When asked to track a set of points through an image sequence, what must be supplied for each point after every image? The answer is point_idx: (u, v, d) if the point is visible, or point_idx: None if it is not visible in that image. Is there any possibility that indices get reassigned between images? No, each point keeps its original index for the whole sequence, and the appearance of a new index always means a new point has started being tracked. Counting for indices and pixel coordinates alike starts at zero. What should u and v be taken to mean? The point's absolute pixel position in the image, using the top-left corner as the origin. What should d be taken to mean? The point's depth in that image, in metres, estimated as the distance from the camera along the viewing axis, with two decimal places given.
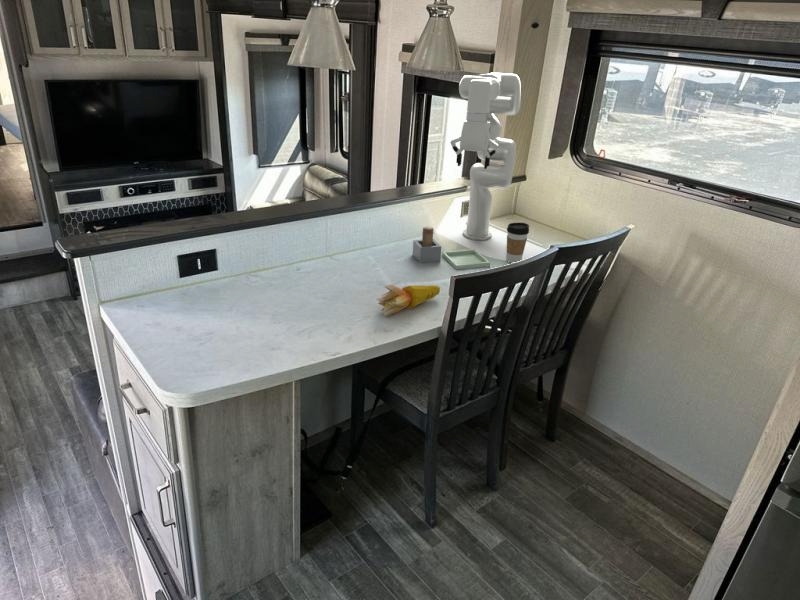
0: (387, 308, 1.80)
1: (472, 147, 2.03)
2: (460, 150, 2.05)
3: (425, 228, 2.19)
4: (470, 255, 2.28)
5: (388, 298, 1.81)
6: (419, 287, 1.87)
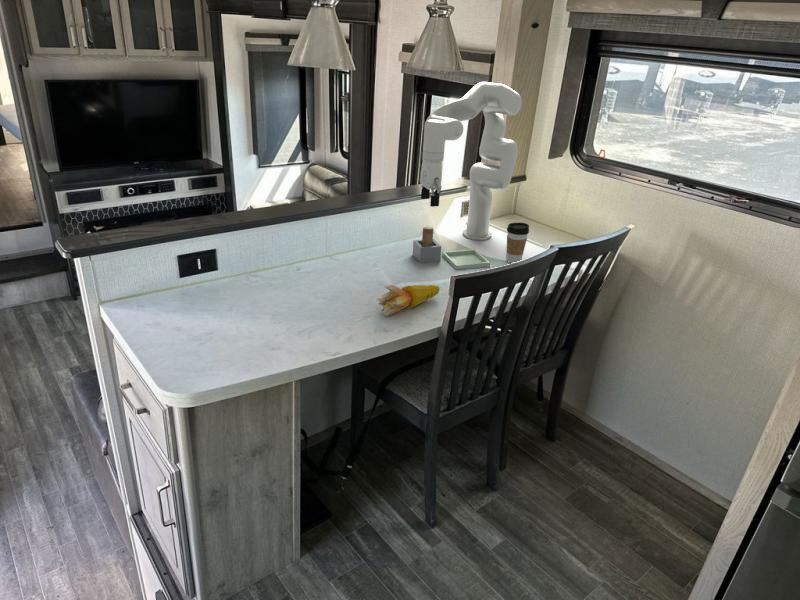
0: (387, 308, 1.80)
1: None
2: None
3: (425, 228, 2.19)
4: (470, 255, 2.28)
5: (388, 298, 1.81)
6: (419, 287, 1.87)
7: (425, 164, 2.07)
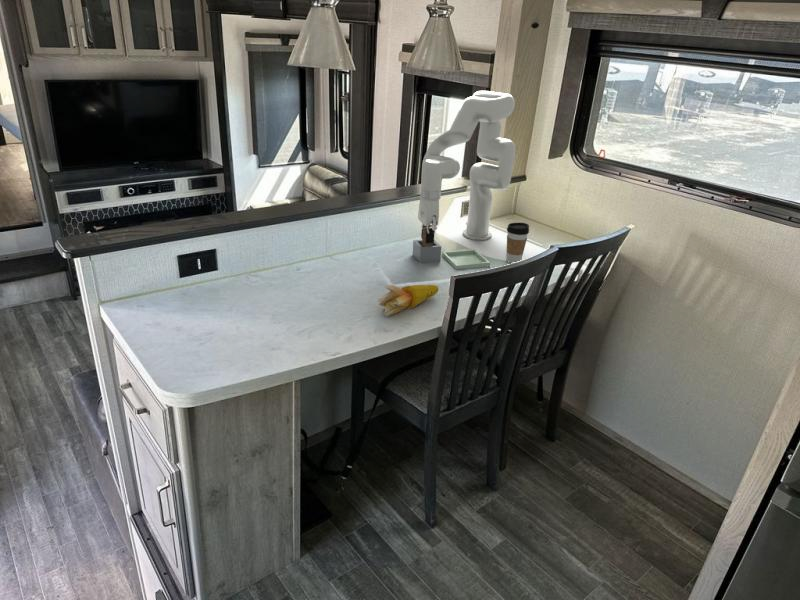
0: (388, 308, 1.80)
1: None
2: None
3: (425, 228, 2.19)
4: (470, 255, 2.28)
5: (389, 298, 1.81)
6: (418, 287, 1.88)
7: (422, 202, 2.13)
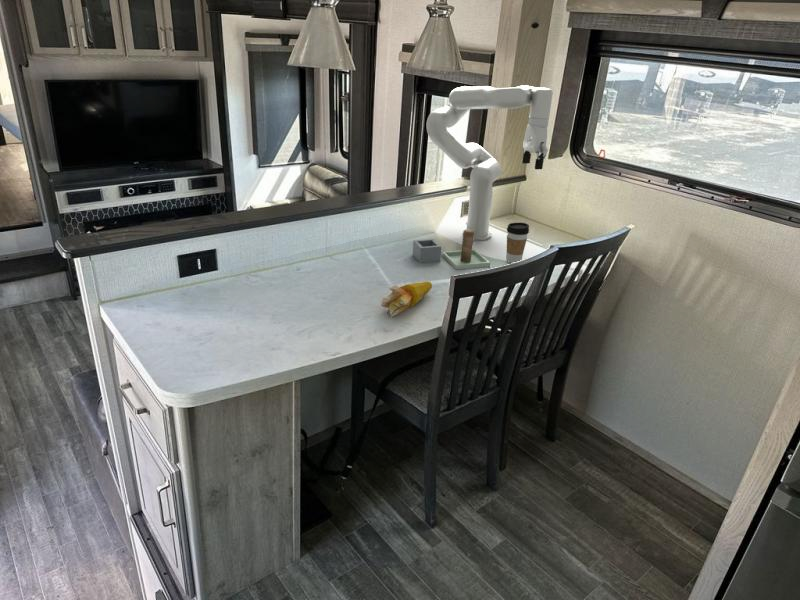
0: (393, 309, 1.80)
1: None
2: None
3: (466, 231, 2.18)
4: None
5: (392, 299, 1.81)
6: (416, 284, 1.89)
7: (530, 130, 2.23)
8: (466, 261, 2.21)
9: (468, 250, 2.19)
